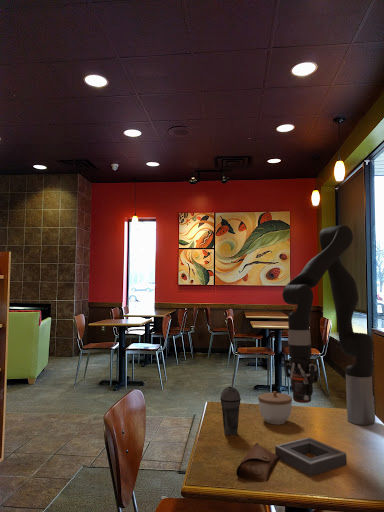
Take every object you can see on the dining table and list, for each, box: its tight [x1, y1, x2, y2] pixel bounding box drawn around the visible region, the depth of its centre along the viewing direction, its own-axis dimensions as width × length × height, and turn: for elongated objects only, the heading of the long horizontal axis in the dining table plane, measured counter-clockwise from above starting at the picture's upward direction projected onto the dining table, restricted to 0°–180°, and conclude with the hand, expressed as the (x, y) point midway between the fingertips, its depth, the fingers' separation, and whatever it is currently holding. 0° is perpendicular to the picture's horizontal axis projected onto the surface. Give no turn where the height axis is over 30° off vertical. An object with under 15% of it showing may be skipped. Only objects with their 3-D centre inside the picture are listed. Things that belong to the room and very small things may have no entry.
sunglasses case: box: [235, 442, 280, 483], centre depth 109 cm, size 18×7×7 cm
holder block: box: [274, 437, 347, 477], centre depth 113 cm, size 14×14×3 cm
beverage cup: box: [220, 373, 242, 436], centre depth 136 cm, size 7×7×20 cm
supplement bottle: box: [292, 367, 312, 404], centre depth 132 cm, size 6×6×11 cm
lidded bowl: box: [257, 390, 293, 425], centre depth 148 cm, size 13×13×11 cm
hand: (301, 392), depth 132 cm, fingers closed on supplement bottle, 6 cm apart
